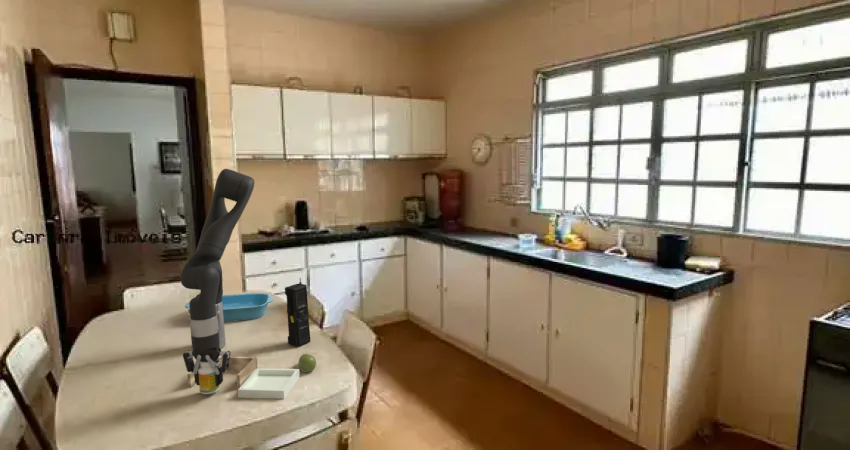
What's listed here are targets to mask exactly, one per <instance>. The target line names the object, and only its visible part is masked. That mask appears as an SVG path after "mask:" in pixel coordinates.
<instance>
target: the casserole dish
mask: <svg viewBox="0 0 850 450" xmlns="http://www.w3.org/2000/svg"><path fill="white" fill-rule="evenodd" d="M273 301H274V297H273V296H272V295H270V294H268V293H264V292H257V293H256V292H254V293H253V292H252V293H237V294H234V293H233V294H223V295H222V304H223V316H224V323H225V322H226V323H227V322H238V321H248V320H250V321H251V320H255V319H256V320H257V319H260V318H261V317H263V316H264V315H265V313H266V311H267V307H268V304H269V303H272V302H273ZM189 303H190V301H189V302H187V303H186V304H185V305H184V308H185V309H187V310H188V312H189V314H190V309H189Z"/></svg>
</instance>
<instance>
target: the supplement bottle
mask: <svg viewBox="0 0 850 450" xmlns="http://www.w3.org/2000/svg"><path fill="white" fill-rule="evenodd" d="M214 363H215V362H214ZM200 366H201V367H200V368H199V370H198V375H199V385H198V386H199V393H200V394H202V395H210V394H215V393H216V392H218V391H219V390H220V385H219V386H216V379H215V374H216V373H215V371H214V369H212V368H211V366H210V364H209V362H200Z"/></svg>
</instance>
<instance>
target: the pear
mask: <svg viewBox="0 0 850 450" xmlns="http://www.w3.org/2000/svg"><path fill="white" fill-rule="evenodd" d="M298 365H299V368H300V370H301V371H302V372H304V373H311V372H312V371H314V370H315V369H316V368H317V359H316V358H315V356H313V355H312V354H309V353H303V354H302V355H300V357H299V358H298Z"/></svg>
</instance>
